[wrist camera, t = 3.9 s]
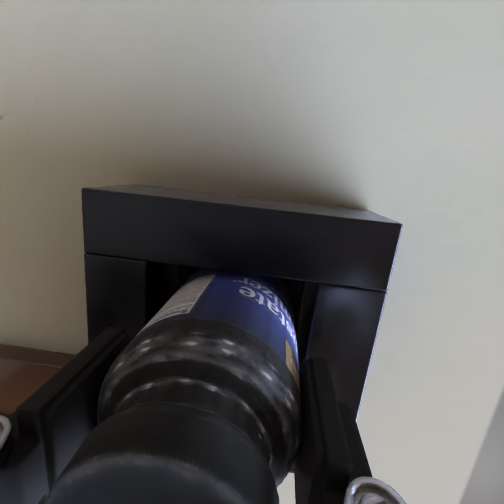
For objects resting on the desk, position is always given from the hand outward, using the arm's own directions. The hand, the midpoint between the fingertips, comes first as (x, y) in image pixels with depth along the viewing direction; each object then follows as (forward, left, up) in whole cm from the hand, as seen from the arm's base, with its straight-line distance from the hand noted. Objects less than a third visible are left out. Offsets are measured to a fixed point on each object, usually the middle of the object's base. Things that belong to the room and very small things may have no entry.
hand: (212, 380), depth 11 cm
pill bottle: (0, 0, -6) cm, 6 cm away
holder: (0, 0, -6) cm, 6 cm away
